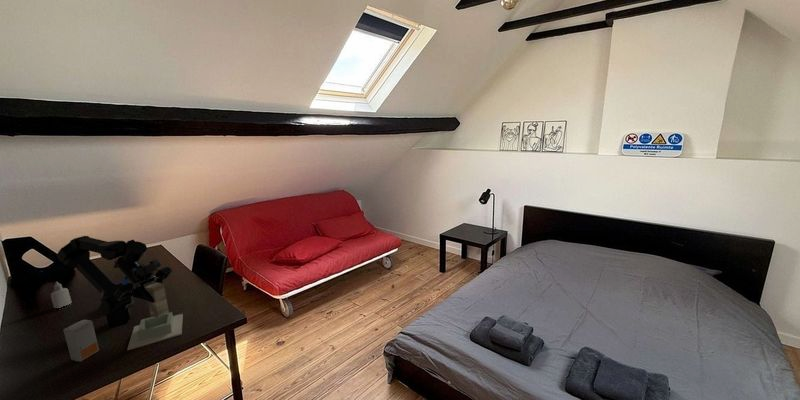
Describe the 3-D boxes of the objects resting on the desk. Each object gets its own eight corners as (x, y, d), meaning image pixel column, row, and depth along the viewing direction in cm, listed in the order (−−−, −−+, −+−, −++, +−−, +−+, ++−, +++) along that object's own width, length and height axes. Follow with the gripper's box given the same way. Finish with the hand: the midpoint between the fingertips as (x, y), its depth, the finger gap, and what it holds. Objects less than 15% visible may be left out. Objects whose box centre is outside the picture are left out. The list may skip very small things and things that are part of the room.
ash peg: (150, 316, 123) (145, 287, 120) (161, 310, 127) (155, 282, 124) (158, 317, 122) (153, 288, 119) (168, 311, 126) (163, 283, 123)
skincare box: (80, 362, 109) (72, 330, 107) (71, 360, 110) (62, 329, 108) (100, 350, 115) (92, 320, 113) (91, 349, 116) (82, 319, 113)
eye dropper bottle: (73, 305, 146) (66, 281, 143) (55, 311, 142) (47, 286, 139) (71, 302, 149) (64, 278, 146) (53, 307, 144) (46, 283, 142)
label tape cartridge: (119, 301, 149) (113, 276, 146) (130, 297, 152) (124, 273, 149) (123, 307, 143) (117, 282, 140) (135, 303, 146) (129, 278, 143)
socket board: (127, 350, 115) (125, 340, 114) (134, 327, 128) (132, 318, 127) (181, 334, 123) (179, 325, 122) (182, 314, 136) (181, 306, 135)
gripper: (112, 266, 112) (143, 300, 111) (164, 247, 129) (190, 276, 129) (101, 284, 115) (130, 317, 115) (153, 263, 133) (178, 291, 132)
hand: (159, 299), depth 123 cm, fingers closed on ash peg, 4 cm apart
